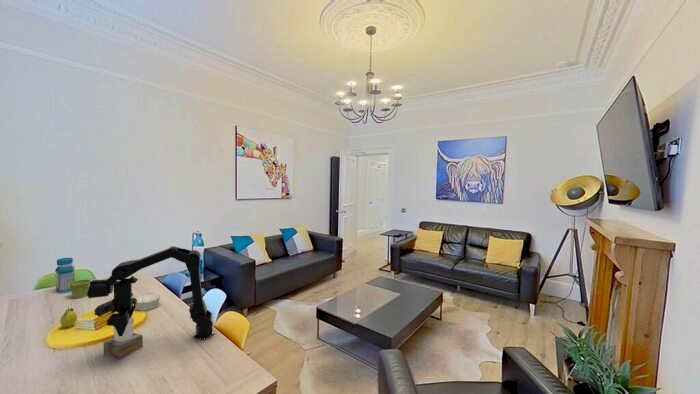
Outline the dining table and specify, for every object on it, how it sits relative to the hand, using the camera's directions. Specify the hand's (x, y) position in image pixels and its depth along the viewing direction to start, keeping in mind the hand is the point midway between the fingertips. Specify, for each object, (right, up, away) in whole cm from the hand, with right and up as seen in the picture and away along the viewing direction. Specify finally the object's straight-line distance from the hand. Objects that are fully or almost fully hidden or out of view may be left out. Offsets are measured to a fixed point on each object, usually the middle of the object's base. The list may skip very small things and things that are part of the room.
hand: (123, 330), depth 113 cm
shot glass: (0, -3, 0) cm, 3 cm away
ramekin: (-18, -6, +38) cm, 43 cm away
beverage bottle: (-81, -3, +55) cm, 98 cm away
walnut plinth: (0, -9, 0) cm, 8 cm away
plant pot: (-65, -4, +48) cm, 81 cm away
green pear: (-39, -6, +16) cm, 43 cm away
